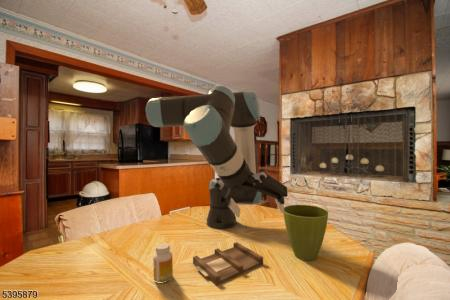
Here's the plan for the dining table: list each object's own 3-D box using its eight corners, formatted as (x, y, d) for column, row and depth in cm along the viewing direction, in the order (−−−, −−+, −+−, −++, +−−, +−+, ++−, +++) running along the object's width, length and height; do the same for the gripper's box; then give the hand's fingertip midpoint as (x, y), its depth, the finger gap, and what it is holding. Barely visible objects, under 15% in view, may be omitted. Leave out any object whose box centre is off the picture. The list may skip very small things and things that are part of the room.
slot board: (190, 264, 71) (190, 257, 71) (236, 248, 82) (236, 242, 82) (212, 286, 60) (212, 278, 59) (263, 263, 71) (263, 256, 71)
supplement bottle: (176, 275, 65) (175, 243, 65) (165, 285, 60) (165, 251, 60) (161, 271, 67) (160, 240, 67) (149, 282, 62) (149, 248, 62)
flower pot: (325, 272, 66) (325, 220, 65) (277, 259, 73) (277, 212, 73) (331, 251, 78) (330, 208, 78) (289, 242, 86) (289, 203, 86)
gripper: (182, 185, 54) (220, 226, 66) (282, 167, 44) (304, 219, 56) (190, 163, 59) (224, 204, 71) (281, 142, 49) (302, 194, 61)
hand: (259, 211), depth 64 cm, fingers open, 13 cm apart
